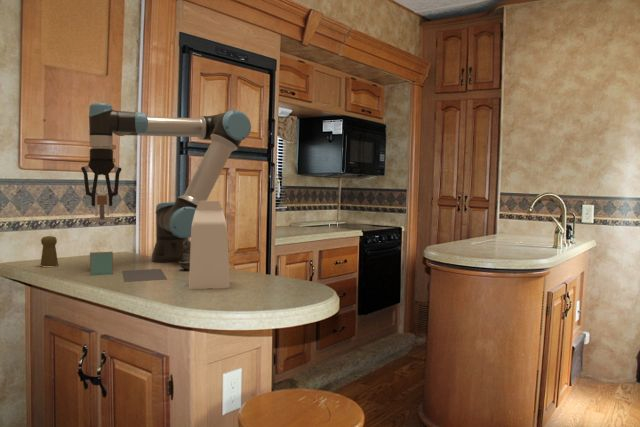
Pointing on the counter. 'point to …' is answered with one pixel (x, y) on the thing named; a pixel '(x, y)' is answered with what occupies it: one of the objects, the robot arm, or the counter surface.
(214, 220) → the milk
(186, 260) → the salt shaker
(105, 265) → the tile
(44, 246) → the cork
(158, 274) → the mat
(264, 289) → the counter surface
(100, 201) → the trowel
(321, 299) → the counter surface
